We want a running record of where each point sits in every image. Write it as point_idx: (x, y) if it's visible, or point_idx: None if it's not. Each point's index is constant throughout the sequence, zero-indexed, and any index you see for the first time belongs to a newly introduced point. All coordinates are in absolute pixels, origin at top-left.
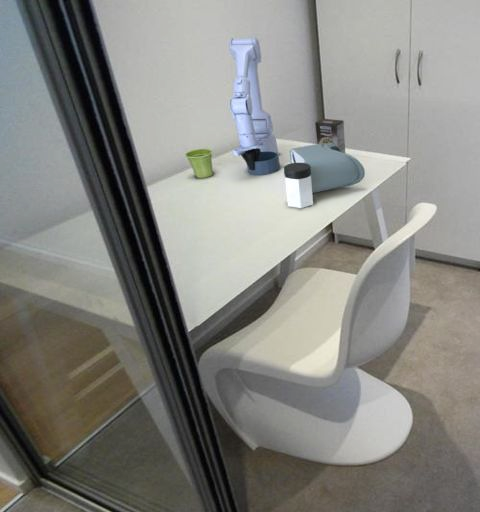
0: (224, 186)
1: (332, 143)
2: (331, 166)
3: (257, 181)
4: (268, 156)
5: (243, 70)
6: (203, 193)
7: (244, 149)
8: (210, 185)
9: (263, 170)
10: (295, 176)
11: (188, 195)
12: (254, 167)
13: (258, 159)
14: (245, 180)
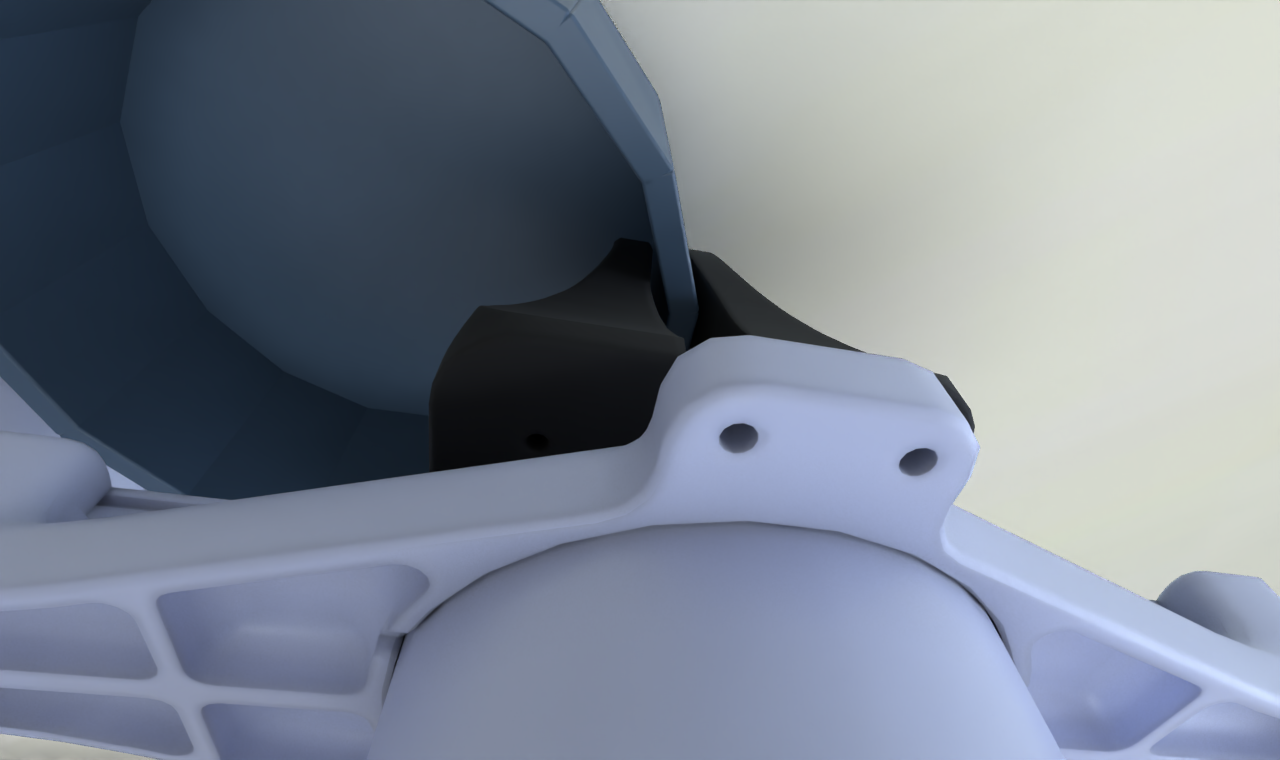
0: (1105, 393)
1: None
2: None
3: (978, 18)
4: (84, 298)
5: None
6: (1271, 482)
7: (1195, 647)
8: (1040, 526)
9: (643, 87)
10: None
11: (1275, 564)
12: (705, 260)
13: (261, 415)
14: (916, 249)
